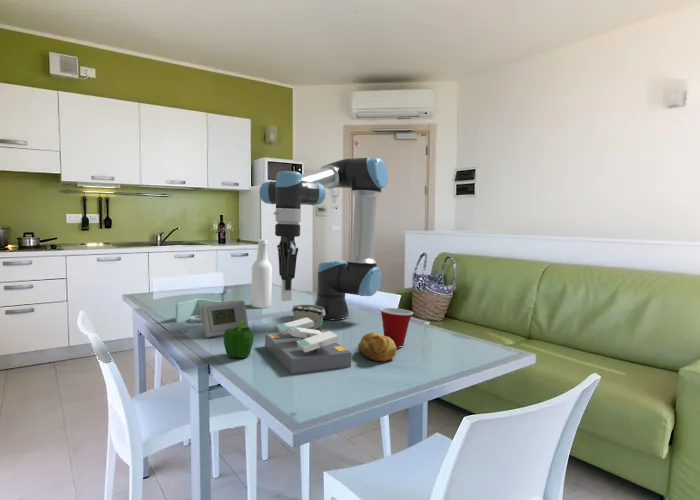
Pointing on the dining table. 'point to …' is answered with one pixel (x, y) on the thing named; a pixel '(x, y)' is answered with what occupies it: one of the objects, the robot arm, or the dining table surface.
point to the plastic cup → (395, 324)
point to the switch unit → (306, 354)
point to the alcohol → (261, 278)
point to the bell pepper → (238, 341)
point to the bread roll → (377, 347)
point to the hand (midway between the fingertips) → (286, 300)
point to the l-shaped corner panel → (191, 310)
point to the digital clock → (223, 317)
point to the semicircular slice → (310, 314)
